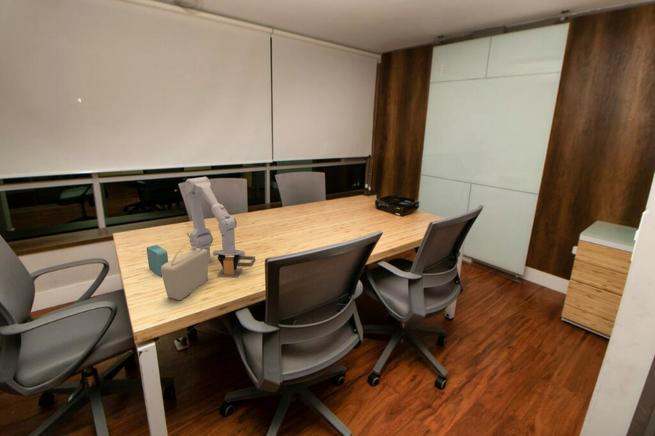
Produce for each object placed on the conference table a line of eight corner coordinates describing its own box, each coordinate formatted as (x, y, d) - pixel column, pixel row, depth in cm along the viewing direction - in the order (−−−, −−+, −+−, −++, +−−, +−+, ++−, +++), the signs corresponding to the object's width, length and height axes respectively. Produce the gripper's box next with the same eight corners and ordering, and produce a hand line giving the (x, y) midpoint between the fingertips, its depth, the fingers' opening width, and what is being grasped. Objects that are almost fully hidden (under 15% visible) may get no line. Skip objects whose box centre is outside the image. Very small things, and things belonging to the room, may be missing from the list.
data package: (170, 274, 153) (167, 250, 150) (160, 277, 150) (157, 253, 146) (158, 266, 160) (155, 243, 157) (149, 269, 157) (145, 246, 153)
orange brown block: (224, 274, 152) (223, 260, 150) (226, 270, 157) (225, 256, 155) (233, 274, 153) (233, 261, 151) (236, 270, 157) (235, 257, 155)
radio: (196, 277, 151) (191, 226, 144) (211, 280, 149) (207, 228, 142) (160, 300, 131) (152, 242, 124) (177, 304, 128) (170, 245, 121)
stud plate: (216, 278, 150) (215, 269, 149) (223, 269, 160) (222, 261, 158) (237, 279, 150) (237, 270, 149) (243, 269, 160) (243, 261, 158)
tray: (234, 267, 162) (233, 262, 161) (238, 260, 171) (238, 255, 170) (251, 267, 162) (251, 263, 162) (255, 260, 171) (255, 256, 170)
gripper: (209, 245, 146) (211, 272, 150) (242, 246, 147) (243, 273, 151) (214, 240, 153) (216, 266, 157) (245, 240, 154) (246, 266, 157)
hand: (230, 269), depth 154 cm, fingers closed on orange brown block, 4 cm apart
